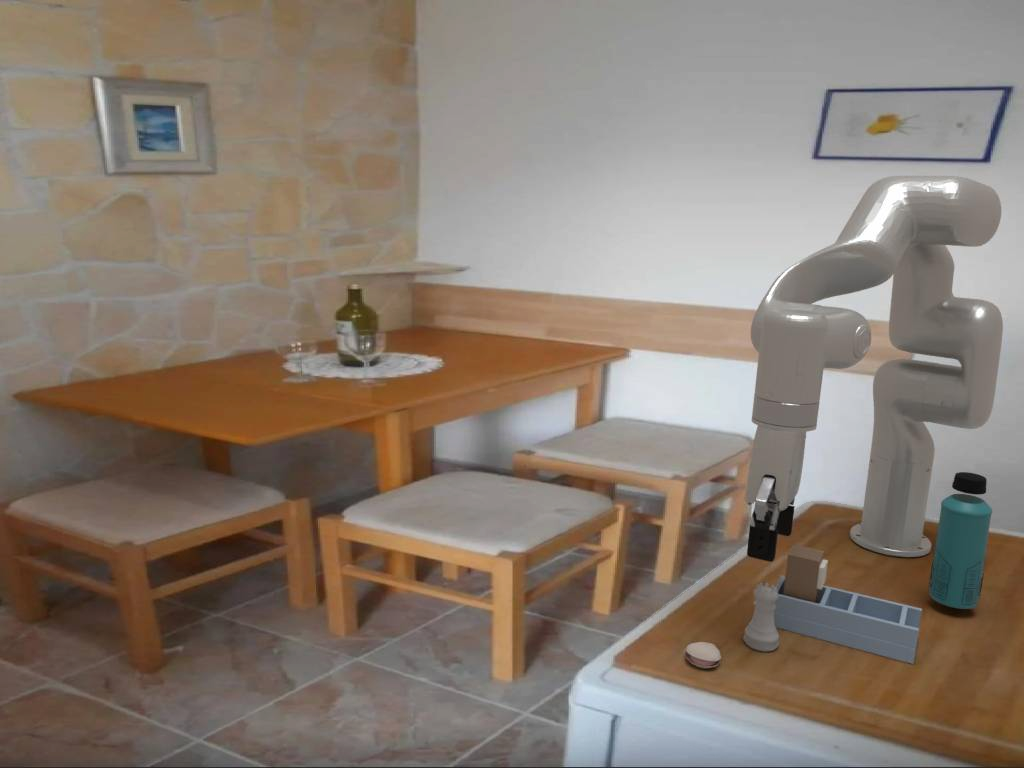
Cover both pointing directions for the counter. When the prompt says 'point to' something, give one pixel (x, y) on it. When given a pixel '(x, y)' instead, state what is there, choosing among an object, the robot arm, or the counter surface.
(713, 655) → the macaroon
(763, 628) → the rook chess piece
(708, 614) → the counter surface
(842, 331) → the robot arm
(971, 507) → the beverage bottle
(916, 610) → the blue-grey divided tray
